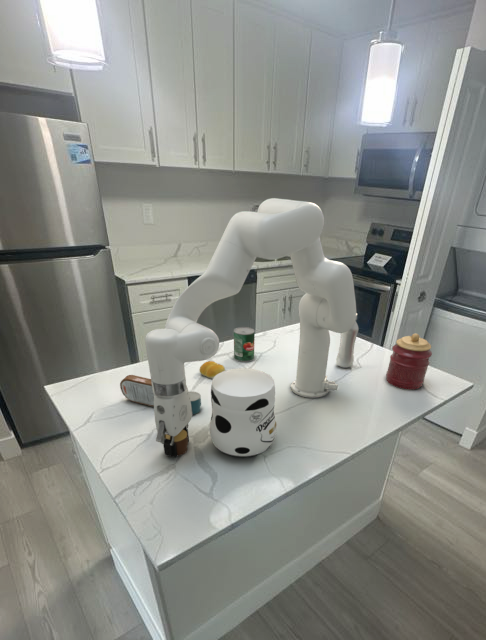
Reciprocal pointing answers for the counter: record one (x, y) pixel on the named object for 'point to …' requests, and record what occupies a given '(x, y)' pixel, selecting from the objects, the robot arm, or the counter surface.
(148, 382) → the tin
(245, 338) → the canned tomato
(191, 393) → the cylinder
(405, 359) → the kitchen canister
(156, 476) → the counter surface
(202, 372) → the bread roll
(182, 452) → the cylinder
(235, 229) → the robot arm
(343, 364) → the plastic bottle
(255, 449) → the milk container
